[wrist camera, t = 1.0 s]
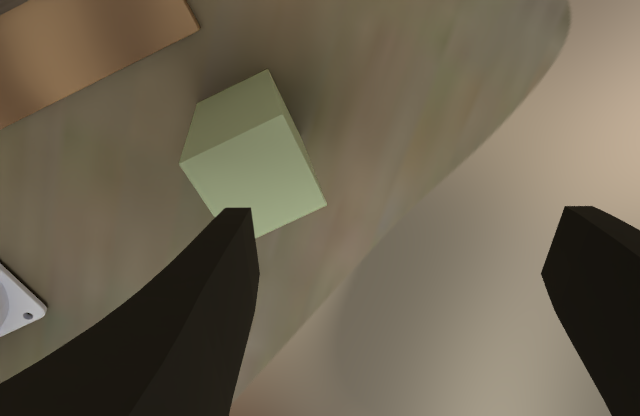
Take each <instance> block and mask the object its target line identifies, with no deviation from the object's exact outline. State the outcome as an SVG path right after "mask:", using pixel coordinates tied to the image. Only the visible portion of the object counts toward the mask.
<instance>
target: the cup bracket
mask: <svg viewBox="0 0 640 416" xmlns="http://www.w3.org/2000/svg"><path fill="white" fill-rule="evenodd" d="M200 28H201V27H200V25H199V24H198V22H197V20H196V18H195V16H194V14H193V12H192V11H191V9H190V7H189V5H188V3H187V1H186V0H0V129H2V128H4V127H6V126H8V125H10V124H12V123H14V122H16V121H18V120H20V119H22V118H24V117H26V116H28V115H30V114H32V113H34V112H36V111H38V110H40V109H42V108H44V107H46V106H48V105H50V104H52V103H54V102H56V101H58V100H60V99H62V98H64V97H66V96H68V95H70V94H72V93H74V92H76V91H78V90H80V89H82V88H84V87H86V86H88V85H90V84H92V83H94V82H96V81H98V80H100V79H102V78H104V77H106V76H108V75H110V74H112V73H114V72H116V71H118V70H120V69H122V68H124V67H127V66H129V65H131V64H133V63H135V62H137V61H139V60H141V59H143V58H145V57H147V56H149V55H151V54H153V53H155V52H157V51H159V50H161V49H163V48H165V47H167V46H169V45H171V44H173V43H175V42H177V41H179V40H181V39H183V38H185V37H187V36H189V35H191V34H193V33H195V32H197V31H199V30H200Z"/></svg>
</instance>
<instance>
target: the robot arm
mask: <svg viewBox="0 0 640 416" xmlns="http://www.w3.org/2000/svg"><path fill="white" fill-rule="evenodd" d="M259 275H260V272H259V264H258V257H257V249H256V242H255V234H254V226H253V219H252V211H251V207H247V208H224V209H223V210H222V211H221V212H220V213H219V214H218V215H217V216H216V217H215V218H214V219H213V220H212V221H211V222H210V223H209V225H208V226H207V227H206V228H205V229H204V230H203V231H202V232H201V233H200V234H199V235H198V236H197V237H196V238H195V239H194V240H193V241H192V242H191V243H190V244H189V245H188V246H187V247H186V248H185V249H184V250H183V251H182V252H181V253H180V254H179V255H178V256H177V257H176V258H175V259H174V260H173V261H172V262H171V263H170V264H169V265H168V266H167V267H165V268H164V269H163V270H162V271H161V272H160V273H159V274H158V275H156V276H155V277H154V278H153V279H152V280H151V281H150V282H149V283H147V284H146V285H145V286H144V287H143V288H142V289H141V290H139V291H138V292H137V293H136V294H135V295H133V296H132V297H131V298H130V299H128V300H127V301H126V302H125V303H123V304H122V305H121V306H119V307H118V308H117V309H115V310H114V311H113V312H111V313H110V314H109V315H107V316H106V317H105V318H103V319H102V320H101V321H99V322H98V323H96V324H95V325H94V326H92V327H91V328H89V329H88V330H86V331H85V332H83V333H82V334H80V335H79V336H77V337H75V338H74V339H72V340H71V341H69V342H68V343H66V344H65V345H63V346H62V347H60V348H59V349H57V350H56V351H54V352H53V353H51V354H49V355H48V356H46V357H45V358H43V359H42V360H40V361H38V362H37V363H35V364H33V365H32V366H30V367H28V368H27V369H25V370H23V371H22V372H20V373H18V374H16V375H15V376H13V377H11V378H10V379H8V380H6V381H4V382H2V383H1V384H0V416H229V412H230V407H231V403H232V398H233V394H234V390H235V386H236V383H237V379H238V375H239V371H240V367H241V363H242V359H243V356H244V352H245V348H246V344H247V340H248V336H249V332H250V328H251V324H252V321H253V316H254V312H255V306H256V299H257V291H258V283H259ZM541 275H542V278H543V281H544V283H545V286H546V289H547V292H548V295H549V297H550V300H551V302H552V305H553V307H554V310H555V312H556V314H557V316H558V318H559V320H560V321H561V323H562V325H563V327H564V329H565V331H566V333H567V335H568V336H569V338H570V340H571V342H572V344H573V346H574V347H575V349H576V351H577V353H578V354H579V356H580V358H581V360H582V361H583V363H584V365H585V367H586V369H587V371H588V372H589V374H590V376H591V378H592V380H593V381H594V383H595V385H596V387H597V388H598V390H599V392H600V394H601V396H602V398H603V399H604V401H605V403H606V405H607V407H608V409H609V411H610V413H611V415H612V416H640V230H638V229H636V228H634V227H633V226H631V225H629V224H627V223H625V222H623V221H621V220H620V219H618V218H616V217H614V216H612V215H610V214H608V213H606V212H604V211H602V210H600V209H597V208H595V207H593V206H565V207H564V210H563V213H562V216H561V219H560V222H559V224H558V227H557V230H556V233H555V236H554V238H553V241H552V244H551V247H550V250H549V252H548V255H547V258H546V261H545V264H544V267H543V269H542V272H541ZM46 311H47V307H46V306H45V305H44V304H43V303H42V302H41V301H40V300H39V299H38V298H37V297H36V296H35V295H34V294H33V293H31V292H30V291H29V290H28V289H27V288H26V287H25V286H24V285H23V284H22V283H21V282H20V281H19V280H18V279H16V278H15V277H14V276H13V275H12V274H11V273H10V272H9V271H8V270H7V269H6V268H5V267H4V266H3V265H1V264H0V337H1V336H4V335H6V334H8V333H10V332H12V331H14V330H16V329H19V328H21V327H23V326H25V325H27V324H29V323H31V322H33V321H36V320H38V319H40V318H42V317H43V316H44V315H45V313H46ZM27 313H31V314H32V315H29V314H27Z"/></svg>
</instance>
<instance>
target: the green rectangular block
mask: <svg viewBox="0 0 640 416" xmlns="http://www.w3.org/2000/svg"><path fill="white" fill-rule="evenodd" d="M179 165H180V167H181V168H182V170H183V171H184V173H185V174H186V176H187V177H188V179H189V180H190V181H191V183H192V184H193V186H194V187H195V189H196V190H197V192H198V193H199V195H200V196H201V198H202V199H203V201H204V202H205V204H206V205H207V207H208V208H209V210H210V211H211V213H212V214H213V216H214V217H216V216H217V215H218V214H219V213H220V212H221V211H222V210H223V209H224V208H247V207H251V211H252V219H253V226H254V234H255V238H258V237H260V236H262V235H264V234H266V233H268V232H270V231H273V230H275V229H277V228H279V227H281V226H283V225H285V224H288V223H290V222H292V221H294V220H296V219H298V218H301V217H303V216H305V215H307V214H309V213H311V212H313V211H316V210H318V209H320V208H322V207H324V206H326V205H327V203H326V200H325V198H324V195H323V193H322V190H321V187H320V185H319V182H318V180H317V177H316V175H315V172H314V169H313V167H312V164H311V162H310V159H309V157H308V154H307V152H306V149H305V146H304V144H303V141H302V139H301V136H300V134H299V132H298V130H297V128H296V126H295V124H294V122H293V120H292V118H291V116H290V113H289V111H288V109H287V107H286V105H285V103H284V101H283V99H282V97H281V95H280V93H279V91H278V89H277V87H276V84H275V82H274V80H273V78H272V76H271V74H270V72H269V70H268V69H266V70H264V71H262V72H260V73H258V74H256V75H254V76H252V77H250V78H248V79H246V80H244V81H242V82H240V83H237V84H235V85H233V86H231V87H229V88H227V89H225V90H223V91H221V92H219V93H217V94H215V95H213V96H211V97H209V98H207V99H205V100H203V101H201V102H199V103H197V105H196V108H195V112H194V115H193V118H192V121H191V125H190V128H189V131H188V135H187V138H186V141H185V145H184V148H183V151H182V155H181V158H180V161H179Z"/></svg>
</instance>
